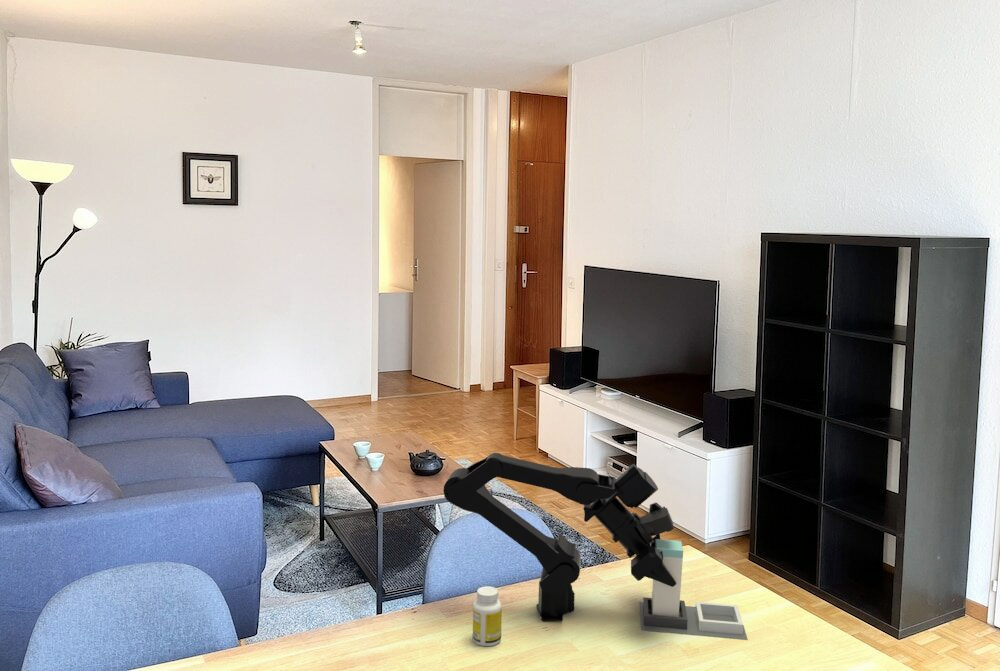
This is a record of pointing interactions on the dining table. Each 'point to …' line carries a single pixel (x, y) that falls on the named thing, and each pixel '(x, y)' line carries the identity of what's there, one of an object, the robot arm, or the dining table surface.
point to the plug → (665, 595)
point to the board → (696, 620)
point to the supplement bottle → (487, 617)
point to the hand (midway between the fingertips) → (673, 579)
